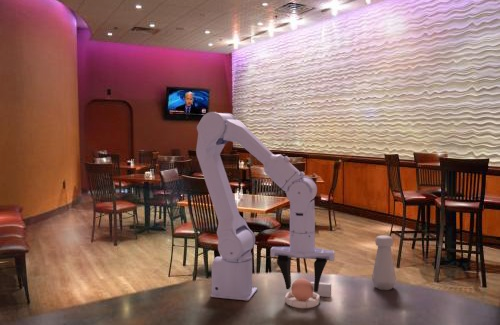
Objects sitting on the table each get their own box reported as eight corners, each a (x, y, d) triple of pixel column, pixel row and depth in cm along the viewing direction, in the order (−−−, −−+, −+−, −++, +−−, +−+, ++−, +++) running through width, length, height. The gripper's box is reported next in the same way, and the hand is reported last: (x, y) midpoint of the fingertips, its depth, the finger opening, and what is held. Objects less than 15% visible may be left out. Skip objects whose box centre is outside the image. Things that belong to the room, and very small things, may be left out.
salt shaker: (396, 292, 113) (397, 239, 112) (372, 290, 114) (373, 238, 113) (394, 284, 118) (395, 234, 117) (371, 282, 119) (371, 233, 119)
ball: (289, 303, 105) (289, 281, 105) (293, 295, 110) (293, 274, 109) (311, 304, 104) (311, 283, 103) (314, 297, 108) (314, 276, 108)
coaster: (282, 306, 104) (282, 300, 104) (289, 294, 111) (289, 289, 111) (316, 309, 102) (316, 303, 102) (321, 297, 109) (321, 291, 109)
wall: (297, 294, 112) (297, 281, 112) (298, 292, 113) (298, 280, 112) (330, 297, 109) (330, 284, 109) (331, 295, 110) (331, 283, 110)
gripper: (267, 232, 104) (267, 292, 105) (332, 236, 100) (332, 298, 101) (274, 226, 110) (274, 282, 111) (335, 229, 106) (335, 287, 107)
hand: (302, 289), depth 106 cm, fingers open, 6 cm apart
